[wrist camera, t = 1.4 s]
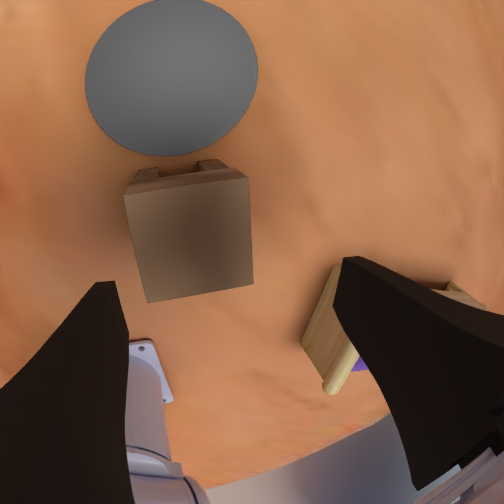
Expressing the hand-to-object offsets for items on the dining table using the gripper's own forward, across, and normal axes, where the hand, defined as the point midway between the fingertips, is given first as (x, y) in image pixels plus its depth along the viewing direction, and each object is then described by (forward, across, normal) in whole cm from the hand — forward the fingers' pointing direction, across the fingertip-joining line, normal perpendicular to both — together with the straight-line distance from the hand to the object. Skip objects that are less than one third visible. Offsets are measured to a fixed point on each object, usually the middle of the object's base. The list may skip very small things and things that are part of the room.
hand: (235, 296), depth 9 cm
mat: (+11, +2, -7) cm, 13 cm away
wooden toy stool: (+10, +1, +1) cm, 11 cm away
